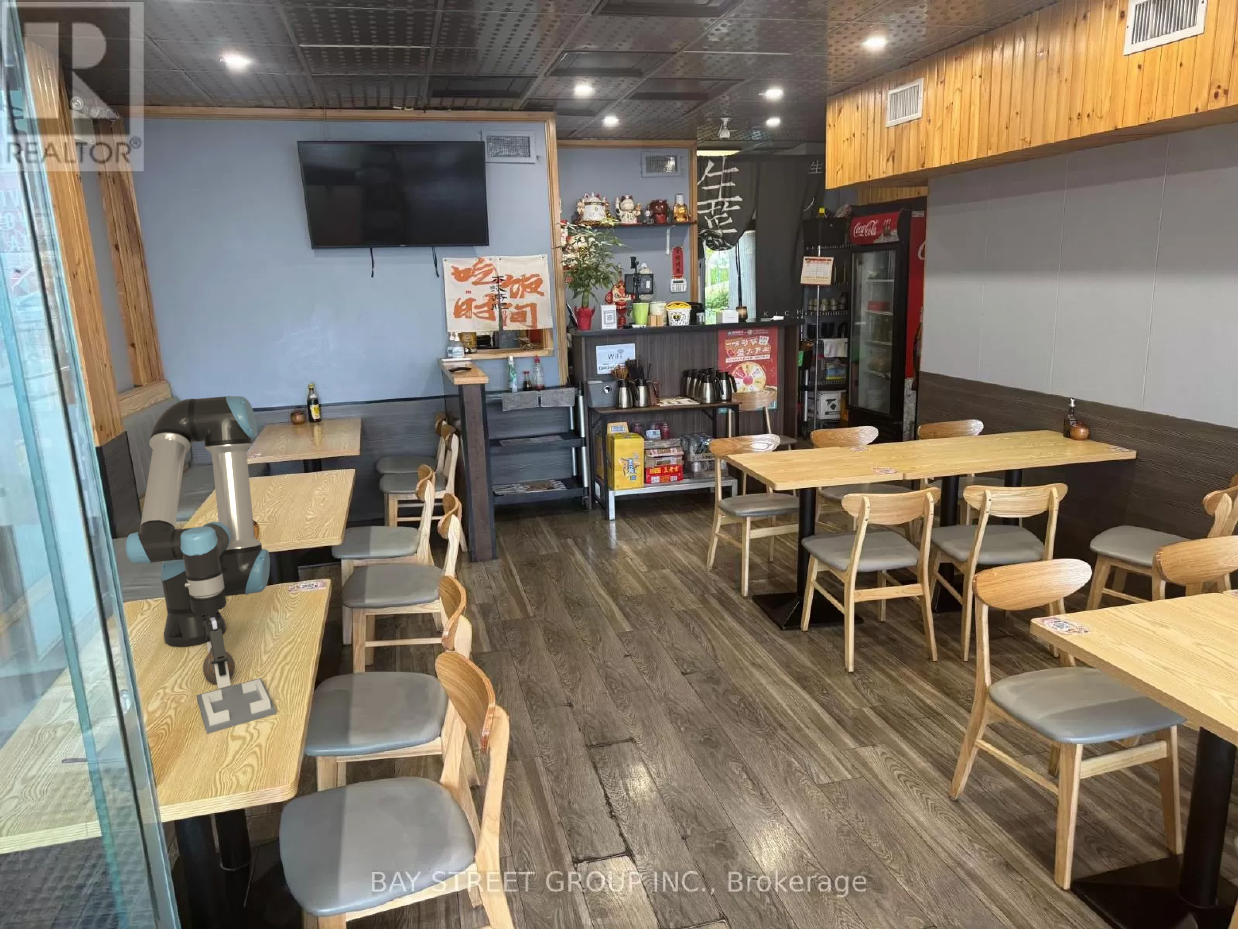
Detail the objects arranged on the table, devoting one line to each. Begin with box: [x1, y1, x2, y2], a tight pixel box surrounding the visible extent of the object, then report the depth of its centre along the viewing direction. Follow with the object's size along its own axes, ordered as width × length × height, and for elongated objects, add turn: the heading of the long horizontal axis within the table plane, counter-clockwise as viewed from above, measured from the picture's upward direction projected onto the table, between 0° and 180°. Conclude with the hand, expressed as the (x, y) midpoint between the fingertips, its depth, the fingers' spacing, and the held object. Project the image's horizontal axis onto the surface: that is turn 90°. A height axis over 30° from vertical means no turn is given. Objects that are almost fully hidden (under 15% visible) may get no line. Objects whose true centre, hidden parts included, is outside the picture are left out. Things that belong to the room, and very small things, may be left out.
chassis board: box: [196, 677, 277, 735], centre depth 188 cm, size 18×14×3 cm
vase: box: [202, 648, 236, 686], centre depth 200 cm, size 7×7×9 cm
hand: (220, 676), depth 201 cm, fingers open, 13 cm apart
